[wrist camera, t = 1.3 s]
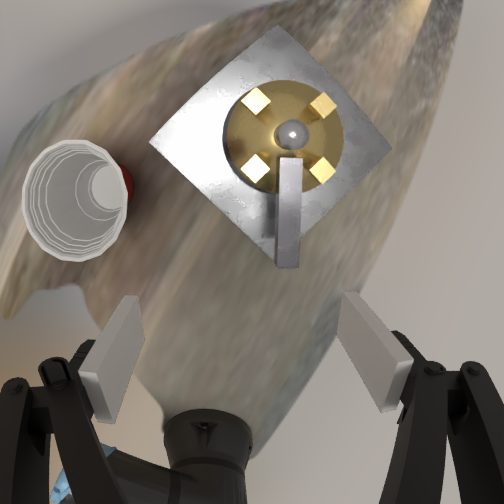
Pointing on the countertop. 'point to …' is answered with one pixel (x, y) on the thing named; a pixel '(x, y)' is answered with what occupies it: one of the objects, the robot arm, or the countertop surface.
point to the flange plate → (206, 137)
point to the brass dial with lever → (286, 151)
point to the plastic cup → (75, 200)
